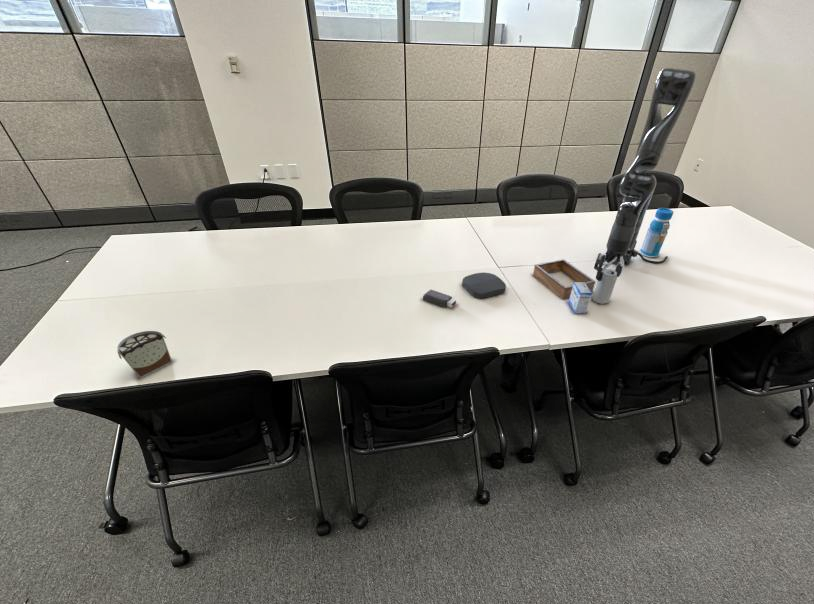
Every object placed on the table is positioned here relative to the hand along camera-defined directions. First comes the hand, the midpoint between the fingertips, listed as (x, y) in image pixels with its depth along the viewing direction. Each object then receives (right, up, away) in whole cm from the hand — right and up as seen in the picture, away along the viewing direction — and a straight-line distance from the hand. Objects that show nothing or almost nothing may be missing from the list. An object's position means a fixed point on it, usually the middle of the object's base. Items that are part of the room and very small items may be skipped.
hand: (607, 278), depth 154 cm
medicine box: (-11, -11, +2) cm, 16 cm away
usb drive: (-62, -9, +2) cm, 63 cm away
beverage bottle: (+35, +21, +39) cm, 57 cm away
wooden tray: (-13, +2, +15) cm, 20 cm away
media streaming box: (-45, -2, +10) cm, 47 cm away
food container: (-148, -34, -31) cm, 155 cm away
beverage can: (0, -7, +6) cm, 10 cm away
